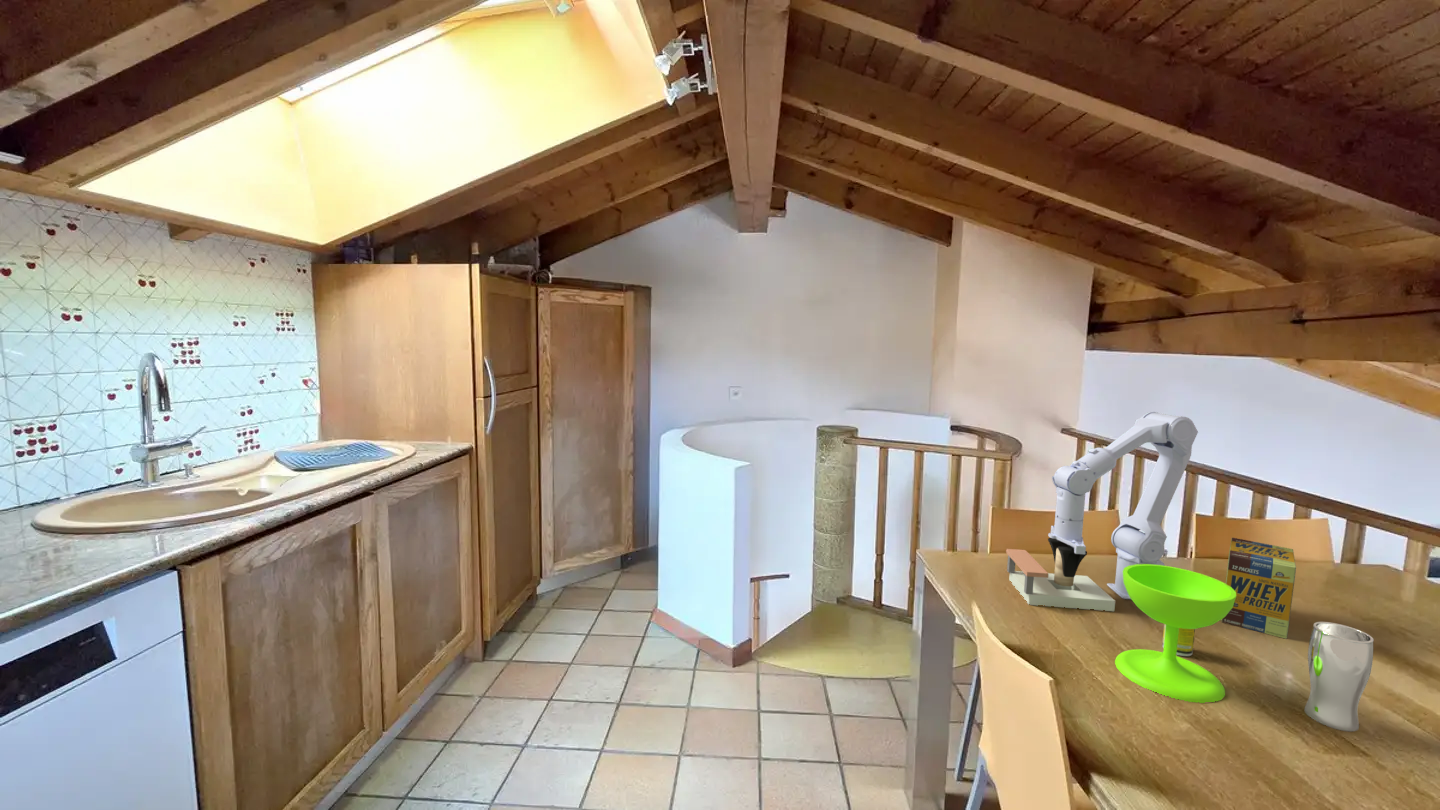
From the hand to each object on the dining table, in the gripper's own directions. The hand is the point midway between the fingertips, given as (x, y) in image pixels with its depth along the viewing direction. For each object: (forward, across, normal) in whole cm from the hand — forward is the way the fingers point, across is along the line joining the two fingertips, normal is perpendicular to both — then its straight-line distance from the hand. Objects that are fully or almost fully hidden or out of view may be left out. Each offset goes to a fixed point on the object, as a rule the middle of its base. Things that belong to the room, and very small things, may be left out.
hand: (1064, 572), depth 138 cm
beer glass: (+6, +42, +24) cm, 49 cm away
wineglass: (+6, +33, +5) cm, 34 cm away
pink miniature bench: (+3, 0, -9) cm, 9 cm away
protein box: (+6, +5, +37) cm, 38 cm away
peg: (+2, 0, 0) cm, 3 cm away
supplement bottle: (+6, +23, +12) cm, 27 cm away
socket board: (+6, 0, -1) cm, 6 cm away
